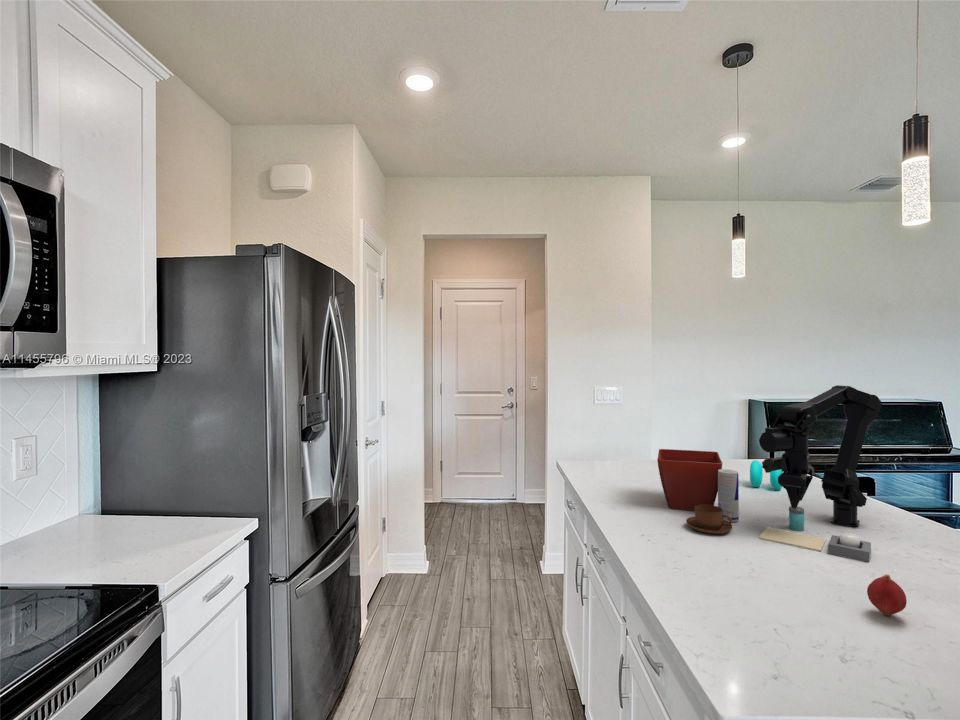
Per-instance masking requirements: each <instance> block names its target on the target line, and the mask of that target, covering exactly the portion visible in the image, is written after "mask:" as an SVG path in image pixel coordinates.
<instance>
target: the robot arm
mask: <svg viewBox="0 0 960 720" xmlns="http://www.w3.org/2000/svg"><path fill="white" fill-rule="evenodd" d="M838 405H843V412H844V415H845V417H846V420H847V421H846V424H845V427H844V431H843V435H842V438H841V442H840V446H839V451H838V453H837V456H836V461H835V464H834V465H833V466H832V468H830V469H829V468H825V470H824V471H823V477H822V479H821V480H820V482H821V488H822V491H823V494H824V497H825V500H831V501H832V504H833V505H832V508H833V509H832V511H833V513H832V515H833V516H832V517H831V519H830V523H831V524H837V525H842V526H847V527H852V528H859V527H860V526H859V525H860V524H861V521H860V520H859V519H858V508H863V507H864V506H866V504H867V500H868V499H867V497H866V496H865V494H864V493H863V492H862V491H861V490H860V489H859V487H860V480H859V478H858V475H857V472H856V471H857V466H858V462H859V460H860V455H861V452H862V449H863V448H862V447H863V445H864V441H865V438H866V433H867V430H868V427H869V425H870V424H871V423H873V422H874V421H875V420H876V419H878V416H879V413H880V411H881V409H882V405H883V403H882V400H880V398H879V397H878V396H877V395H876V394H870V393H868V392H865V391H862V390H859V389H856V388H855V387H853V386H850V385H834V386H832V387H831V388H830V389H828V390H826V391H824V392H822V393H820V394H818V395H817V396H815V397H813V398H811V399H809V400H807V401H804V402H798V403H791V404H788V405H784V406H783V407H782V408H781V410H780V412H779V414H778V416H777V417H776V419H775V421H774V423H773V425H772V426H771V427H765V429H764V432H762V433H761V435H760V438H758V439H759V440H758V442H759V445H760V448H761V449H762V450H763V451H764V452H766V453H777V452H778V453H779V452H783V453H782V454H781V456H779V457H773V458H772V457H769V458H765V459H764V460H763V461H761V465H762V469H764V472H765V473H766V474H767V473H769V474H770V472H771V471H776V470H781V469H782V472H783V473H782V474H780V475H779V476H778V483H779V484H780V486H782V488H784V489H785V491H786V493H787V496H788V500H789V503H790V506H791V507H792V508H797V507H799V506H798V505H799V503H800V502H801V501H803V499H804V496H805V494H806V493H807V490H808V488H809V486H810V484H811V482H812V480H813V478H814V475H815V468H814V467H813V466H812V465H811V464H809V458H810V457H811V456H810V455H811V454H810V453H809V435H815V431H813V430H812V429H811V427H810V426H812V425H813V424H814V423H815V422H816V421H817V420H818V417H819V416H820V415H821V414H823V413H825V412H827V411H829V410H831V409H832V408H835V407H836V406H838Z"/></svg>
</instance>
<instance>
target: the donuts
mask: <svg viewBox="0 0 960 720" xmlns="http://www.w3.org/2000/svg"><path fill="white" fill-rule="evenodd" d="M760 462H761V461H758V460H752V461H751V462H750V465H749V466H750V467H749V482H750V485H751V487H753V488H759V487H760V486H761V485H762V482H763V475H764V473H763V472H764V471H763V468H762V466H763V465H762V462H761V463H760ZM782 473H783V472H782V469H781V470H776V471H771V472H769V482H770V485H771V487H772V488H773V489H774V490H776V491H779V490H781V489H782V488H783V487H782V486H780V484H779V483H778V476H779V475H780V474H782Z"/></svg>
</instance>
